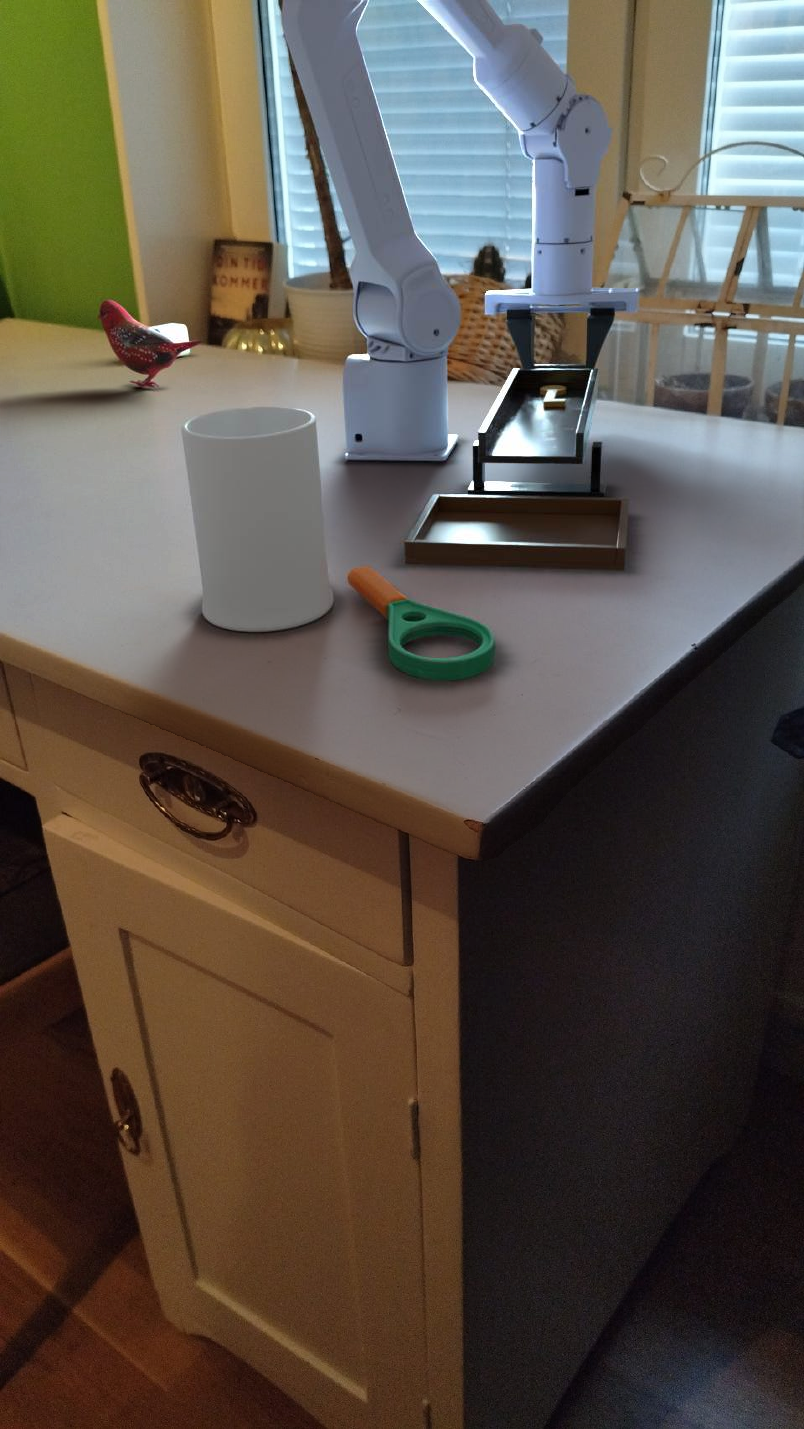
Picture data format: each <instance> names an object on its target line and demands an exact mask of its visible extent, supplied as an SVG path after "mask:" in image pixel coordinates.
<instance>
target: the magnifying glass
mask: <svg viewBox="0 0 804 1429" xmlns="http://www.w3.org/2000/svg"><path fill="white" fill-rule="evenodd" d="M347 583H348V584H349V586H350V587H352V588H353V589H354V590H355V591H356V592H357V593H358V594H359V595H360V596H361V597H362V598H364V599H365V600H366V602H368V603H369V604H370V605H371V606H372V607H373V608H375V609H376V611H378V612H379V613H380V614H381V616H383V617H384V618H385V619H386V620H387V621H388V636H387V639H388V640H387V645H388V658H389V660H390V662H391V663H392V665H393V666H394V667H396V668H397V669H398V670H400V671H401V672H403V673H405V674H407V675H410V676H413V677H415V678H419V679H425V680H429V681H431V680H432V681H442V682H444V681H446V682H447V681H448V682H449V681H458V680H464V679H468V678H471V677H475V676H477V675H479V674H481V673H484V672H485V671H487V670H488V669H489V668H490V667H491V666H492V665H493V663H494V660H495V650H496V639H495V635H494V633H493V631H492V630H491V629H490V628H489V627H488V626H487V625H486V624H484V623H483V622H481V621H479V620H476V619H474V618H471V617H468V616H465V615H463V614H458V613H455V612H451V611H449V610H446V609H445V610H444V609H441V608H439V607H434V606H431V605H429V604H425V603H421V602H418V601H415V600H412V599H411V598H407V596H405V595H404V594H403V593H402V592H400V591H399V590H398V589H397V588H396V587H395V586H394V585H393V584H391V583H390V582H389V581H388V580H386V579H385V578H384V577H383V576H382V575H380V574H379V573H378V572H377V571H376V570H374V569H373V568H372V567H370V566H369V565H363V566H359V567H358V566H357V567H354V568H352V569H351V570H350V571H349V573H348V574H347ZM434 635H435V636H436V635H451V636H458V637H462V638H466V639H469V640H472V641H474V642H475V643H477V644H478V645H479V647H478V648H477V649H476V650H474V651H472V652H469V653H467V654H463V655H459V656H454V657H426V656H421V655H417V654H415V653H412V652H410V651H407V650H406V649H404V648H403V647H404V645H406V644H407V643H409V642H411V641H412V640H415V639H418V638H421V637H426V636H427V637H428V636H434Z"/></svg>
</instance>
